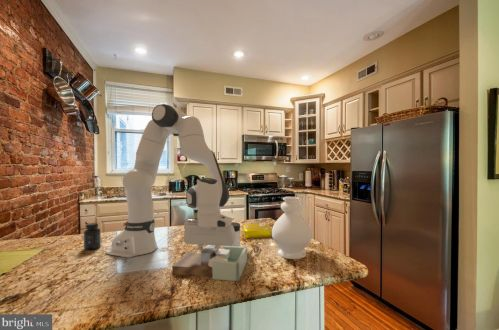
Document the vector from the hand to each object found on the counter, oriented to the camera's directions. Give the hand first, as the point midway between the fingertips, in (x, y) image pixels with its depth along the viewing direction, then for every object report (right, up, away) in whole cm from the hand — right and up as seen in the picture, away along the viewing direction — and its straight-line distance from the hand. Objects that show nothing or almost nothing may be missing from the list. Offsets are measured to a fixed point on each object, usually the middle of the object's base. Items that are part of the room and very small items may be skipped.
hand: (209, 255), depth 88 cm
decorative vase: (+35, -5, +13) cm, 37 cm away
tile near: (+4, -2, -5) cm, 6 cm away
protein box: (-10, -5, +45) cm, 46 cm away
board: (-4, -5, 0) cm, 6 cm away
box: (+9, -5, -2) cm, 10 cm away
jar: (+7, -5, +19) cm, 21 cm away
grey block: (0, -2, +1) cm, 2 cm away
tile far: (+5, -2, +3) cm, 6 cm away
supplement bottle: (-62, -6, +23) cm, 67 cm away
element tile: (+20, -5, +43) cm, 48 cm away
